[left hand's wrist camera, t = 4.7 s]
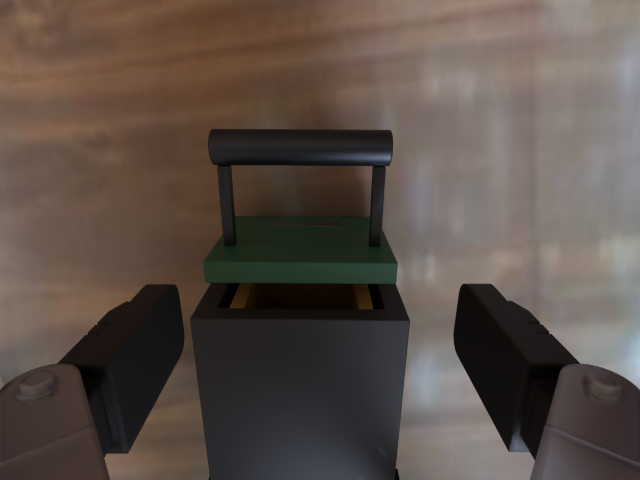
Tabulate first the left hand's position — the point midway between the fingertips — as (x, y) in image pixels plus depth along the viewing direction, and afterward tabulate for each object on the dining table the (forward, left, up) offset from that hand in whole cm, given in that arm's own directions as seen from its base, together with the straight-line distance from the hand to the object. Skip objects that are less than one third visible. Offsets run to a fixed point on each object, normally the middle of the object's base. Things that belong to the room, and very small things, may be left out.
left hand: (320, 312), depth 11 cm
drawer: (+8, -3, -16) cm, 18 cm away
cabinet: (+14, -4, -17) cm, 22 cm away
